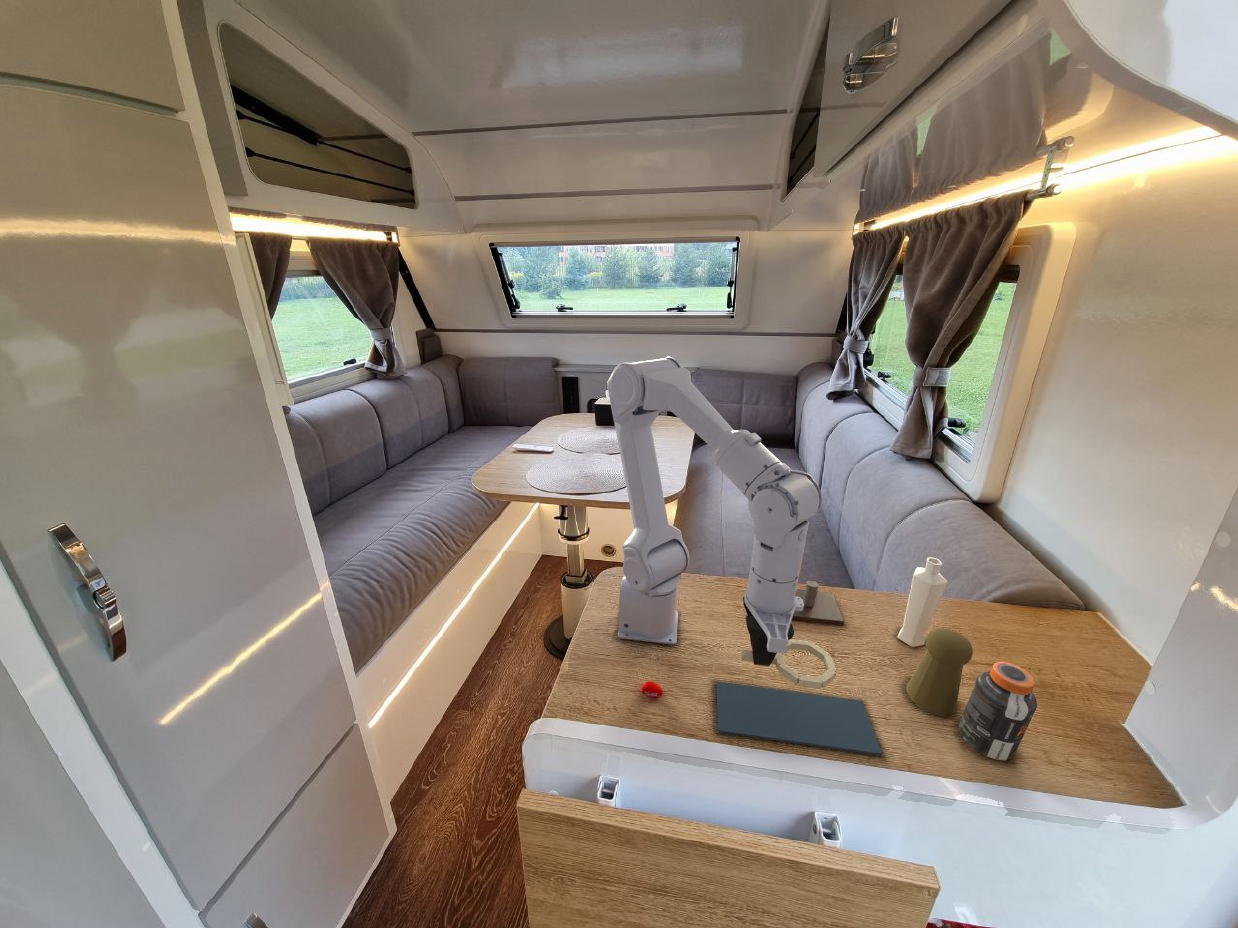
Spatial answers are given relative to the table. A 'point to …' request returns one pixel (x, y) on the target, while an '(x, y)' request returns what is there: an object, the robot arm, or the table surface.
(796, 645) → the octagonal ring with handle
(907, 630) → the perfume bottle
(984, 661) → the table surface
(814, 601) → the peg stand
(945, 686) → the pepper shaker
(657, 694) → the candy
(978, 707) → the pill bottle
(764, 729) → the mat
